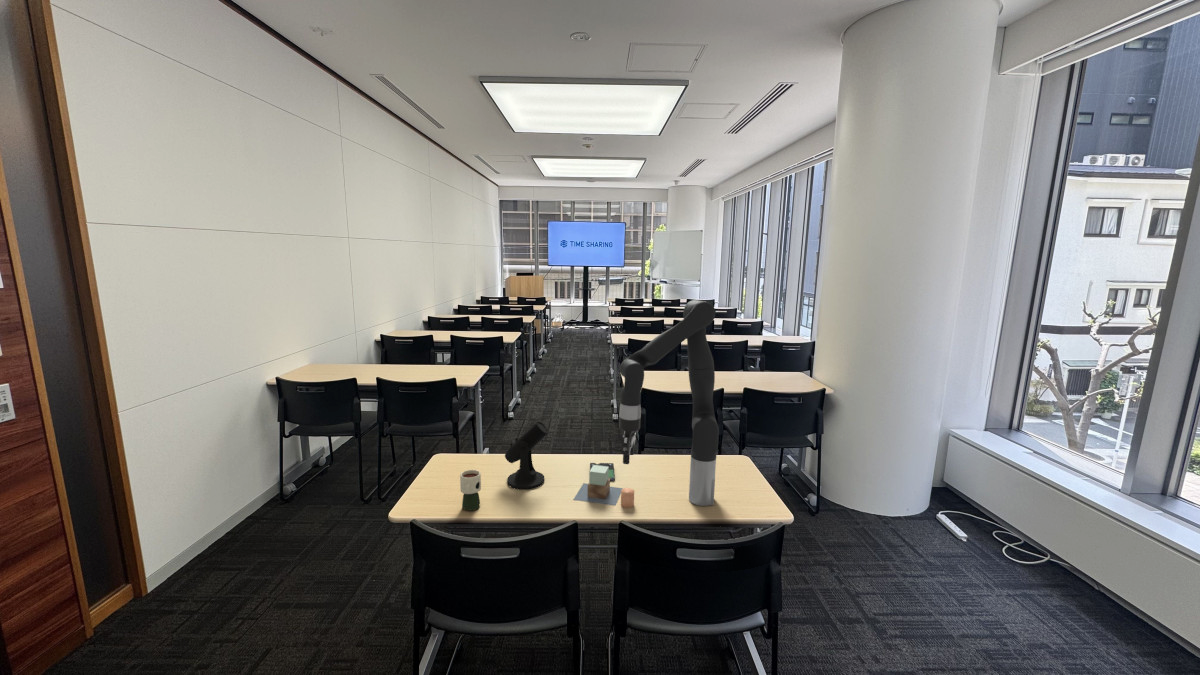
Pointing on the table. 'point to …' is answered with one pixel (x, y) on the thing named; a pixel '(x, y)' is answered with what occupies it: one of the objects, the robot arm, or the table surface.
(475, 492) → the character mug
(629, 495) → the terracotta cylinder
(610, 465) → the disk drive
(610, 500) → the slate mat
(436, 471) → the table surface
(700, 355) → the robot arm
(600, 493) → the walnut block
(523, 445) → the microphone
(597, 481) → the sage block
